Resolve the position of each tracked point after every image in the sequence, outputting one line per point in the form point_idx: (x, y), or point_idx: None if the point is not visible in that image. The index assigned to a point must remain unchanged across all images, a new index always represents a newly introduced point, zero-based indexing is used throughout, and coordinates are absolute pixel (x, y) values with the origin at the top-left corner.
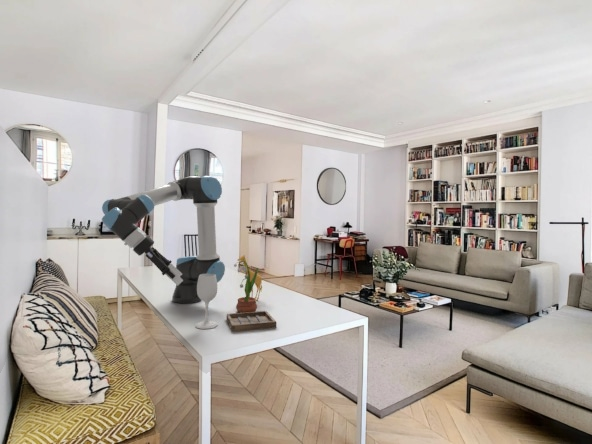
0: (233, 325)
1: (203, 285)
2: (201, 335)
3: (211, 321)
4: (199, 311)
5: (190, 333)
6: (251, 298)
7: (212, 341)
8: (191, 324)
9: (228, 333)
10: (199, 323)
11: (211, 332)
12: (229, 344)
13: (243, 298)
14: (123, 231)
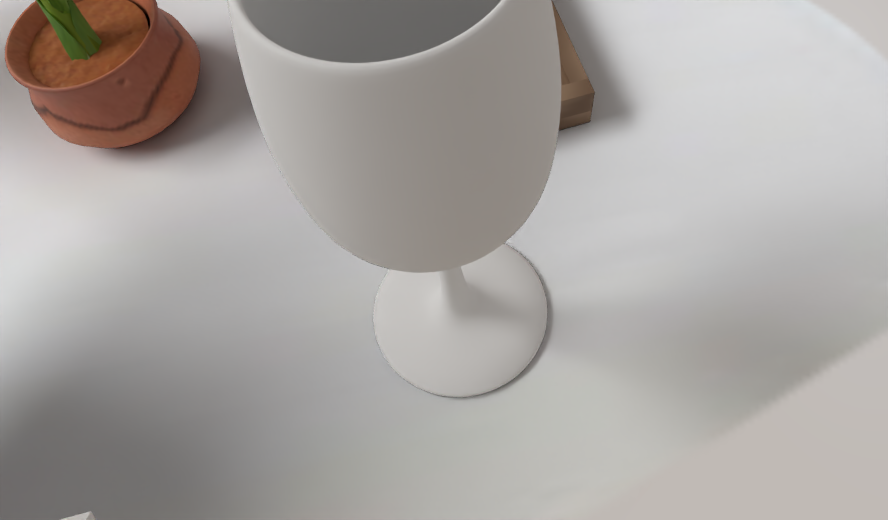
0: (591, 86)
1: (558, 82)
2: (685, 305)
3: (406, 277)
4: (46, 452)
5: (651, 399)
6: (40, 11)
7: (793, 209)
8: (422, 443)
9: (621, 139)
10: (459, 360)
11: (611, 248)
12: (822, 105)
13: (19, 63)
14: None
